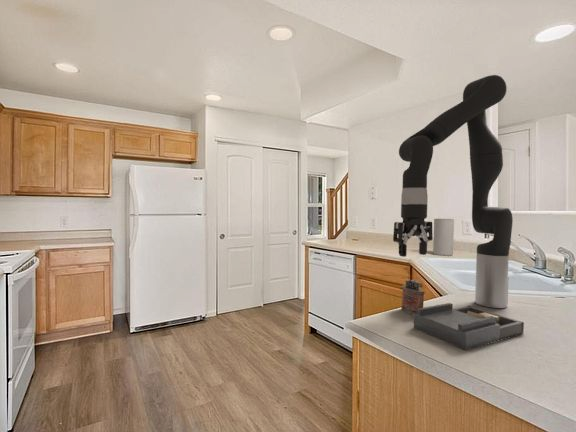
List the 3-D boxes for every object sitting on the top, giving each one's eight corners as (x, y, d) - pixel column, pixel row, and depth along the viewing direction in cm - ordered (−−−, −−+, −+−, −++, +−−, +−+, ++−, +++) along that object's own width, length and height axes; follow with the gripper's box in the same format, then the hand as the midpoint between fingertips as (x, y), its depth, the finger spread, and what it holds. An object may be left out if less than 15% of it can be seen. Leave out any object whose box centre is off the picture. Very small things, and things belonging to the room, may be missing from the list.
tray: (469, 315, 98) (469, 306, 98) (523, 333, 85) (523, 322, 85) (445, 320, 93) (446, 310, 93) (499, 340, 80) (499, 328, 80)
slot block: (445, 320, 93) (446, 302, 93) (499, 340, 80) (500, 318, 80) (413, 327, 88) (414, 307, 87) (465, 350, 74) (466, 326, 74)
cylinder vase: (434, 252, 235) (435, 218, 234) (453, 254, 228) (454, 219, 228) (432, 254, 224) (433, 218, 223) (452, 256, 217) (453, 219, 217)
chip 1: (473, 324, 90) (475, 315, 90) (487, 329, 86) (490, 320, 87) (464, 319, 88) (468, 310, 89) (479, 324, 85) (482, 315, 85)
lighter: (398, 309, 104) (399, 278, 103) (406, 307, 105) (407, 277, 105) (418, 317, 96) (419, 283, 96) (426, 315, 98) (427, 282, 97)
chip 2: (475, 314, 91) (475, 323, 91) (490, 318, 87) (489, 328, 87) (484, 312, 92) (484, 321, 92) (499, 316, 89) (498, 325, 89)
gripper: (420, 203, 106) (419, 252, 106) (387, 202, 100) (386, 255, 100) (440, 203, 99) (439, 255, 100) (406, 202, 93) (405, 258, 93)
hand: (412, 255), depth 100 cm, fingers open, 8 cm apart
